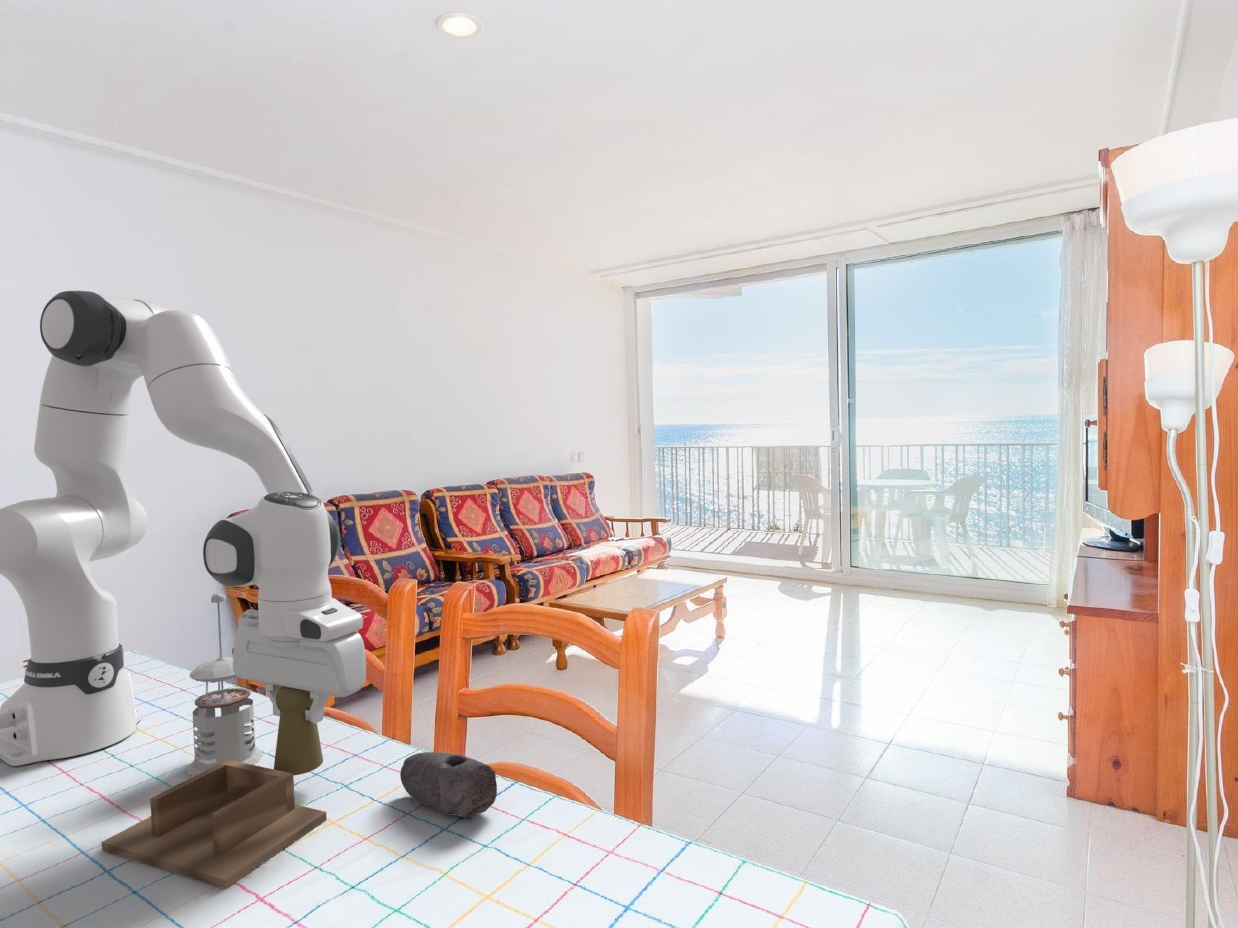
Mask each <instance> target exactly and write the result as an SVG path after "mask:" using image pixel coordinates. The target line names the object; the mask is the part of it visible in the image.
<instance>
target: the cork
mask: <svg viewBox="0 0 1238 928" xmlns="http://www.w3.org/2000/svg"><path fill="white" fill-rule="evenodd" d="M275 700H276V705H277V708H278V709H279V710H280V716H279V721H278V728H277V737H276V745H275V753H274V761H273V762H274V763H273V769H274V770H279V771H284V772H288V773H293V776H299V775H303V774H304V775H305V774H307V773H310V772H312V771H314V770H316V769H318V768H320V767H321V766H322V764H323V762H324V757H323V752H322V746H321V740H320V734H319V726H318V723H316V724H314V723H310V722H306V721H305V717H306V716H305V710H306V709H308V708H311V705H312V703H313V700H314V699H311V698H310V691H305V690H300V689H295V688H289V687H284V686H282V687H280V688H279V690H278V692H277V693H276V697H275Z"/></svg>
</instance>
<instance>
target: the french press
mask: <svg viewBox="0 0 1238 928" xmlns="http://www.w3.org/2000/svg"><path fill="white" fill-rule="evenodd" d="M226 599H227V598H226V595H225V594H224V593H219V592H217V593H213V594H212V595H211V598H210V603H217V621H218V624H217V625H218V642H219V643H218V644H219V657H218V658H216V659H211V660H208V661H206V662H204V663H202V664H200V665H198V666H197V667H196V668H194V669H193V670H192V671H191V672H189V676H188V677H189V678H190V679H192V680H194V681H196V682H201V683H202V682H203V683H205V693H204V694H202V695H200V696H199V697H197V698H196V699H195V700H194V705H195V706H196V708H195V709H194V710H193V711H192V729H193V749H194V751H193V752H194V760H193V761H191V763H190V764H189V765H188V766H187V774H188V775H190V776H191V777H193V776H195V775H197V774H199V773H201V772H203V771H205V770H207V769H209V768H211V767H213V766H215V765H217V764H219V763H221V762H224V761H226V760H233V761H237V762H242V763H246V764H251V765H255V764H257V763H258V762H260V760H262V758H263V757H264V754H263V750H262V749H260V748H259V747H256V735H255V727H254V726H255V716H254V715H255V713H254V710H255V709H254V699H252V698H250V695H251V691H250V690H249V689H248V688H244V687H233V688H230V687H229V688H224V681H227V680H231V679H234V678H238V677H237V676H236V674H235V672H234V670H233V656H232V657H227V656H225V657H223V654H222V653H223V652H222V650H223V649H222V636H221V635H222V631H221V613H220V612H221V611H220V610H221V608H220V607H221V606H220V603H222V602H225V601H226ZM209 683H212V684H214V683H217V690H214V691H213V690H212V691H209ZM243 706H248V707H245V708H244V709H241V710H240V708H241V707H243ZM216 709H220V716H216ZM249 723H251V724H250V725H245V724H249ZM195 728H196V730H195ZM249 732H251V733H249ZM195 737H196V738H195Z"/></svg>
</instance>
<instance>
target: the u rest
mask: <svg viewBox="0 0 1238 928" xmlns="http://www.w3.org/2000/svg"><path fill="white" fill-rule="evenodd" d="M294 779H295V778H294V775H293V773H288V772H284V771H279V770H274V768H273V769H272V768H269V767H264V766H260V765H255V764H254V765H251V764H246V763H242V762H237V761H233V760H226V761H224V762H221V763H219V764H217V765H215V766H213V767H211V768H209V769H207V770H205V771H203V772H201V773H199V774H197V775H195V776H191V777H190V778H187V779H186V780H183V781H182V782H179V783H178V784H175V785H174V786H171V787H169V788H167V789H165V790H163V791H161V792H159V793H157V794H155V795H153V796H151V797H149V800H150V802H149V803H150V816H149V817H147V818H145V819H143V820H141V821H139V822H137V823H135V824H133V825H131V826H130V827H128V828H126V829H123V830H122V831H120V832H118V833H116V834H114V835H112V836H110V837H108V838H107V839H105V840H103V841H101V842H100V843H101V845H100V846H101V851H103V852H105V853H107V854H112V855H115V856H119V857H122V858H124V859H128V860H131V861H134V862H138V863H141V864H144V865H147V866H151V867H153V868H157V869H159V870H163V871H167V872H169V873H173V874H175V875H178V876H183V877H186V878H188V879H192V880H195V881H198V882H201V883H205V884H208V885H211V886H215V887H217V888H221V889H224V890H227V889H228V888H229V887H231V886H232V885H234V884H235V883H237V882H238V881H240V880H241V879H242V878H244V877H246V876H247V875H248V874H250V873H252V872H253V871H254V870H255V869H257V868H258V867H259V868H260V866H262V865H263V864H264V863H266V862H267V861H269V860H270V859H271V858H273V857H274V856H276V855H277V854H279V853H280V852H282V851H283V850H285V849H286V848H288V847H289V846H291V845H292V844H294V843H296V842H297V841H298V840H299V839H301V838H302V837H303V836H305V835H307V834H308V833H309V832H311V831H313V830H314V829H316V828H317V827H318V826H320V825H321V824H323V823H325V821H327V811H324V810H321V809H315V808H311V807H307V806H303V805H299V804H296V803H295V784H294V783H295V781H294Z"/></svg>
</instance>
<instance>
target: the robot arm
mask: <svg viewBox="0 0 1238 928" xmlns="http://www.w3.org/2000/svg"><path fill="white" fill-rule="evenodd" d="M39 330H40V331H39V332H40V337H41V339H42V340H41V341H42V342H43V344H44V346H45V347H46V349H47V350H48V352H49V353H50V354H51V355H52V356H51V358H50V360H49V363H48V366H47V368H46V369H47V370H46V372H45V377H44V379H43V385H42V387H41V395H40V400H39V408H38V414H37V415H38V416H37V421H36V422H37V423H36V430H35V431H36V432H35V440H34V447H33V452H34V455H35V456H36V459H37V460H38V461H39V462H40V463H41V464H43V465H44V466H45V467H48V468H49V469H50V470H51V472H52V474H53V477H54V479H55V484H56V496H55V497H47V498H37V499H36V498H35V499H27V500H23V501H19V502H16V503H13V504H10V505H7V506H4V507H2V508H0V576H2V577H4V578H5V579H7V580H8V582H10V584H11V585H12V586H13V588H14V590H15V591H16V592H17V594H18V596H19V597H20V600H21V602H22V605H23V607H24V610H25V614H26V619H27V626H28V627H27V628H28V637H29V648H30V658H29V659H24V660H23V661H22V663H27V664H26V665H23V667H22V668H23V669H24V668H25V669H24V679H23V682H24V683H23V684H22V685H21V686H20V687H19V688H18V689H17V690H16V691H15V692H14V693H13V694H12V695H11V696H9V697H8V699H6V700H5V701H4V702H3V703H2V704H1V705H0V760H2V761H3V762H5V763H7V765H9V766H10V767H11V766H12V767H18V766H24V765H27V764H32V763H38V762H42V761H48V760H49V761H50V760H59V759H64V758H70V757H76V756H79V755H80V756H81V755H83V754H88V753H91V752H95V751H98V750H101V749H104V748H106V747H109V746H111V745H114V744H117V743H118V742H120V741H123V740H124V739H126V738H128V737H129V736H131V735H132V734H133V733H134V732H135V731H136V729H137V724H138V722H140V721H141V720H142V719H143V718H144V716H143V712H142V711H140V710H137V709H136V704H135V698H134V691H133V685H132V680H131V678H132V677H131V675H130V674H129V673H128V672H127V671H125V670H123V667H124V665H125V664H124V663H125V661H124V658H125V655H124V653H125V652H124V651H123V650H124V649H123V645H122V644H121V643H120V640H119V639H120V637H119V620H118V604H117V600H116V598H115V597H114V595H113V594H112V593H110V592H109V591H107V590H105V589H103V588H100V587H99V586H98V585H97V583H96V581H95V580H94V578H93V576H92V573H91V570H90V565H89V564H90V562H94V561H99V560H102V559H107V558H112V557H114V556H116V555H118V554H120V553H123V552H124V551H127V550H128V549H130V548H132V547H134V546H135V545H137V544H139V543H140V542H141V541H142V539H143V538H144V536H145V535H146V533H147V530H148V515H147V513H146V510H145V508H144V507H143V505H142V504H141V502H139V501H138V500H137V499H136V498H135V497H134V496H133V494H132V493H131V491H130V487H129V483H128V481H127V477H126V476H127V475H126V472H125V447H126V437H127V436H126V435H127V428H128V420H129V413H130V412H129V411H130V404H131V403H130V401H131V392H132V387H133V385H134V383H135V382H136V381H137V380H138V379H140V378H141V377H143V378H144V379H143V380H144V381H145V385H146V389H147V391H148V395H149V398H150V401H151V404H152V407H153V410H154V412H155V414H156V416H157V418H158V419H159V421H160V423H161V424H162V425H163V427H164V428H165V429H166V430H167V431H168V432H169V433H171V434H172V435H174V436H175V437H177V438H179V440H180V439H181V440H183V441H184V442H187V443H189V444H192V445H196V446H199V447H203V448H206V449H210V450H214V451H217V452H221V453H223V454H226V455H229V456H232V457H234V458H235V459H236V458H237V459H238V460H240V461H242V462H244V463H246V464H247V465H248V466H249V467H250V468H251V469H252V470H253V471H254V472H255V473H256V474H257V476H258V478H259V480H260V481H261V484H262V485H263V487H264V488H265V490H266V492H267V494H266V495H264V496H262V497H261V498H260V500H259V501H258V503H257V504H256V505H254V507H252V508H251V509H248V510H247V511H244V512H242V513H240V514H236V515H233V516H230V517H227V518H226V519H221V520H218V521H217V522H216V523H214V525H213V526H212V527H211V528H210V530H208V532H207V534H206V537H205V540H204V543H203V547H202V555H203V556H202V557H203V563H204V567H205V570H206V571H207V573H208V574H209V575H210V577H212V579H214V580H215V581H216V582H217V583H219V584H221V585H223V586H224V587H234V588H235V587H236V588H237V587H239V588H240V587H241V588H242V587H248V586H254V585H256V586H257V587H258V594H257V596H258V597H257V603H258V604H257V605H258V607H257V609H258V610H257V609H247V610H245V612H243V613H242V614H241V615H240V617H239V618H238V620H237V625H238V626H237V629H236V633H235V636H234V642H233V643H234V644H233V651H232V652H233V655H232V657H233V670H234V672H235V674H236V676H237V677H236V678H238V679H242V680H249V681H253V682H258V683H259V682H260V683H264V686H265V687H264V688H265V692H266V695H267V696H268V698H269V701H270V702H271V703H272V714H273V715H274V716H277V717H280V710H279V709H278V708H277V705H276V700H275V697H276V693H277V692H278V690H279V688H280V687H282V686H284V687H289V688H295V689H300V690H305V691H310V698H311V699H314V700H313V703H312V705H311V708H308V709H306V710H305V716H306V717H305V721H306V722H310V723H314V724H316V723H317V724H319V722H322V721H323V720H324V717H325V715H324V714H325V710H324V707H325V706H326V705H327V702H328V700H329V698H330V697H331V696H332V697H338V698H346V697H348V696H351V695H352V694H354V693H357V692H358V691H360V690H361V689H362V688H363V686H364V685H365V682H366V677H367V665H366V664H367V663H366V662H367V661H366V660H367V659H366V649H365V644H364V638H362V636H361V634H360V633H358V632H357V631H360V629H362V628H363V625H364V619H363V618H364V617H363V615H362V614H361V613H359V612H358V611H356V610H354V609H352V608H351V607H348V606H347V605H345V604H344V603H342V602H340V601H339V600H338V599H336V598H334V597H332V596H333V595H332V594H333V593H332V585H331V582H330V579H329V578H330V577H329V568H330V567H331V566H332V564H333V563H334V561H335V560H336V558H337V556H338V553H339V551H340V546H341V532H340V529H339V526H338V524H337V522H336V521H335V519H334V518H333V516H332V515H331V514H330V512H329V511H328V509H326V507H325V504H324V502H323V500H322V499H320V497H317V495H316V493H315V492H314V490H313V488H312V486H311V484H310V482H309V480H308V479H307V477H306V475H305V473H304V471H303V469H302V468H301V466H300V465H299V462H298V460H297V459H296V457H295V455H294V453H293V451H292V449H291V448H290V446H289V444H288V442H287V441H286V439H285V437H284V436H283V434H282V432H281V431H280V428H279V427H278V426H277V425H276V423H275V421H273V420H272V419H271V418H270V417H269V416H267V415H266V414H265V413H263V412H262V411H261V410H260V409H258V407H257V406H256V405H255V404H254V403H253V402H252V400H251V399H250V398H249V397H248V395H247V394H246V393H245V392H244V390H243V388H242V386H241V385H240V383H239V381H238V379H237V377H236V373H235V371H234V370H233V366H232V364H231V362H230V359H229V358H228V355H227V353H226V351H225V349H224V347H223V346H222V343H221V342H220V340H219V338H218V336H217V335H216V333H215V331H214V330H213V329H212V327H211V326H210V324H209V322H207V321H206V319H205V318H203V317H202V316H200V315H198V314H197V313H194V312H192V311H190V310H183V309H171V308H168V307H165V306H164V305H163V306H162V305H159V304H157V303H153V302H150V301H149V302H148V301H145V300H141V299H136V298H134V299H133V298H132V299H129V298H125V297H119V296H113V295H106V294H105V295H104V294H99V293H96V292H94V291H87V290H65V291H61V292H58V293H56V294H55V295H54V296H53V297H52V298H51V299H49V301H47V303H46V304H45V306H44V308H43V310H42V312H41V316H40V322H39ZM273 715H272V716H273Z"/></svg>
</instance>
